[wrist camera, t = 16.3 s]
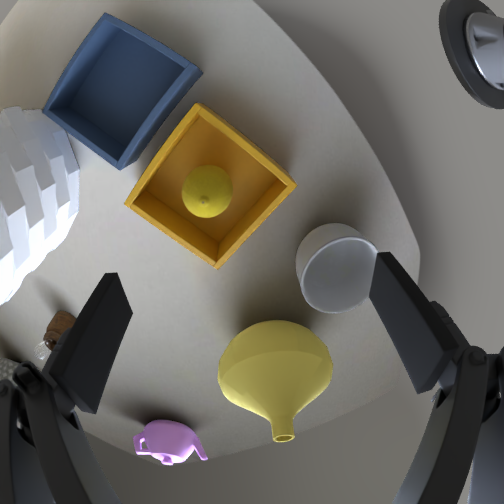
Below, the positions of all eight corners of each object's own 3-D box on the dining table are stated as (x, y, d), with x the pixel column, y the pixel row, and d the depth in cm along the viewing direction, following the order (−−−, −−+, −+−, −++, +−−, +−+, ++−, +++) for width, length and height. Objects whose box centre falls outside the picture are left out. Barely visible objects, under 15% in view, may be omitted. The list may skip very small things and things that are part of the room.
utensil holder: (54, 305, 42) (26, 349, 32) (80, 315, 44) (55, 363, 33) (57, 326, 45) (34, 368, 35) (83, 335, 46) (61, 381, 36)
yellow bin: (288, 173, 34) (297, 185, 29) (220, 247, 38) (217, 270, 33) (202, 103, 29) (195, 102, 24) (138, 189, 33) (123, 204, 29)
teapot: (143, 434, 70) (138, 465, 59) (128, 412, 62) (120, 449, 51) (211, 440, 71) (210, 473, 60) (205, 420, 63) (203, 459, 53)
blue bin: (203, 72, 27) (196, 66, 22) (136, 160, 32) (119, 171, 27) (123, 23, 22) (104, 12, 17) (65, 109, 27) (41, 112, 22)
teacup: (275, 259, 40) (283, 294, 33) (321, 197, 35) (342, 222, 28) (343, 296, 44) (359, 330, 37) (387, 246, 39) (412, 275, 32)
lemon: (204, 150, 31) (194, 163, 24) (242, 175, 33) (244, 195, 26) (180, 187, 33) (164, 210, 26) (216, 210, 35) (211, 239, 28)
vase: (237, 377, 53) (238, 462, 36) (203, 315, 44) (192, 421, 27) (325, 358, 51) (348, 442, 35) (315, 289, 43) (351, 392, 26)
